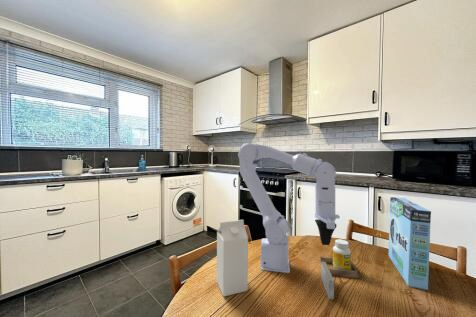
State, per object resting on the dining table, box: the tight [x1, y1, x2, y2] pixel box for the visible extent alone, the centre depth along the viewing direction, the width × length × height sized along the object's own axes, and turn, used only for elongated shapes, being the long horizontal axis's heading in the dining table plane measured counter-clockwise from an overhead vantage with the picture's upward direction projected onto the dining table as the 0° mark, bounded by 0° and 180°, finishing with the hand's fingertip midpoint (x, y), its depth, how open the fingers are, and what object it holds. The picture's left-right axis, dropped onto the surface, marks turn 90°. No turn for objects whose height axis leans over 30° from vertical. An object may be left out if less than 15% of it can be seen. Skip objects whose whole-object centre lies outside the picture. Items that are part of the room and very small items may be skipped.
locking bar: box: [320, 262, 335, 301], centre depth 57 cm, size 1×10×5 cm, turn 168°
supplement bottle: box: [332, 238, 352, 270], centre depth 67 cm, size 5×5×10 cm
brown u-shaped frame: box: [319, 255, 361, 280], centre depth 67 cm, size 10×8×2 cm
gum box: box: [388, 197, 432, 291], centre depth 66 cm, size 20×5×23 cm, turn 157°
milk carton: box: [216, 219, 249, 297], centre depth 58 cm, size 7×7×19 cm
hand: (325, 244), depth 63 cm, fingers closed
